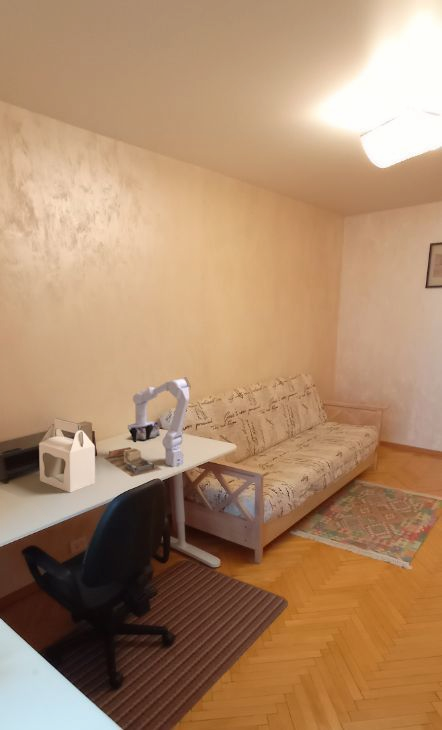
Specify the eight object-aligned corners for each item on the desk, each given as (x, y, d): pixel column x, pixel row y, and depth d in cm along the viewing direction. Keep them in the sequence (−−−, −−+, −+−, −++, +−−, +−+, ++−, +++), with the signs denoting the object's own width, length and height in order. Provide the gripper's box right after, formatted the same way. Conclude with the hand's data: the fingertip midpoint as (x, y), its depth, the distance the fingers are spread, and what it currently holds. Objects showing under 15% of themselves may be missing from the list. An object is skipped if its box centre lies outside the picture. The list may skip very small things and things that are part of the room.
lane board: (162, 471, 202) (162, 464, 202) (131, 478, 192) (131, 471, 192) (131, 454, 227) (131, 447, 226) (103, 459, 217) (103, 453, 216)
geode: (149, 432, 272) (151, 417, 270) (163, 437, 266) (165, 422, 264) (127, 438, 255) (129, 422, 253) (140, 444, 249) (142, 428, 247)
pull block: (145, 461, 213) (145, 450, 212) (124, 466, 205) (124, 454, 204) (129, 453, 225) (129, 442, 224) (109, 457, 217) (109, 446, 216)
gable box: (95, 483, 186) (95, 421, 183) (70, 493, 175) (69, 427, 172) (64, 472, 198) (63, 414, 195) (39, 481, 187) (37, 419, 184)
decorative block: (75, 466, 206) (74, 427, 204) (68, 464, 209) (67, 425, 207) (93, 460, 215) (92, 422, 213) (85, 458, 219) (85, 421, 216)
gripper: (149, 412, 227) (149, 436, 228) (124, 415, 218) (125, 441, 219) (156, 414, 221) (156, 439, 223) (131, 418, 212) (131, 444, 213)
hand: (141, 440), depth 220 cm, fingers open, 7 cm apart
